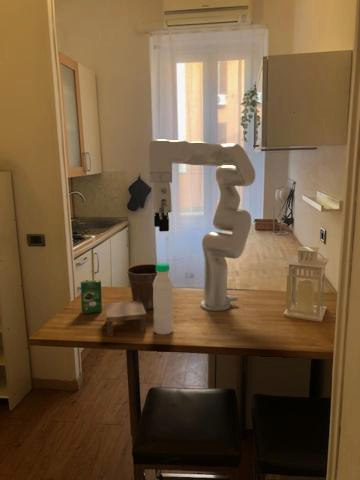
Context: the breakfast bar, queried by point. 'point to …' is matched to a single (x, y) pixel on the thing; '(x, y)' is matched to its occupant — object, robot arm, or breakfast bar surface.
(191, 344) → the breakfast bar surface
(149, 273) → the plant pot
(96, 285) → the coffee box
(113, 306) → the small square stand
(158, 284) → the water bottle
